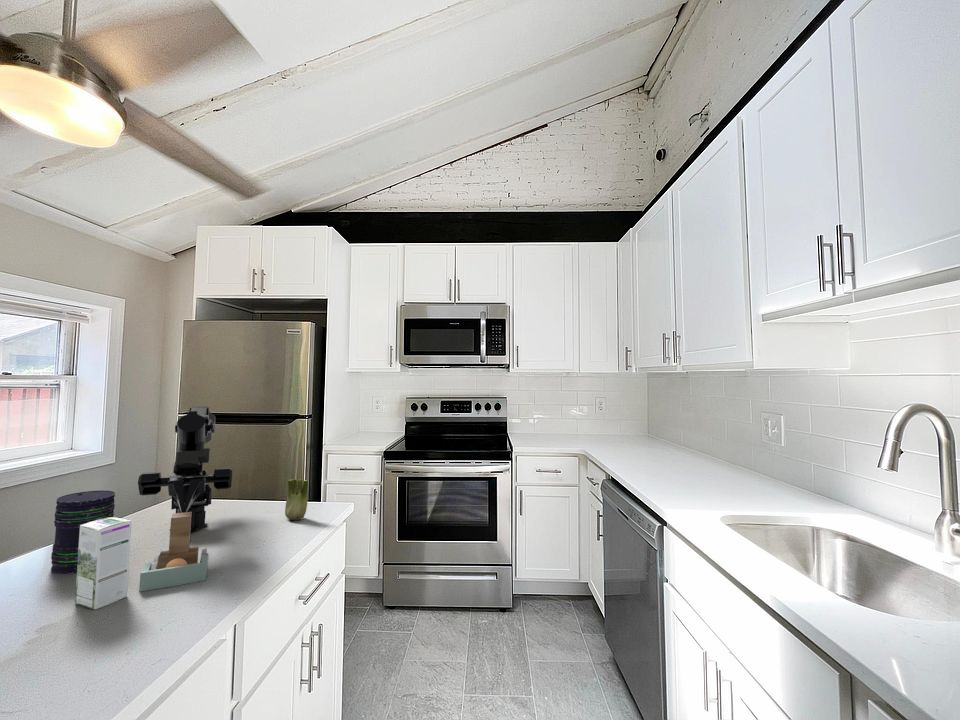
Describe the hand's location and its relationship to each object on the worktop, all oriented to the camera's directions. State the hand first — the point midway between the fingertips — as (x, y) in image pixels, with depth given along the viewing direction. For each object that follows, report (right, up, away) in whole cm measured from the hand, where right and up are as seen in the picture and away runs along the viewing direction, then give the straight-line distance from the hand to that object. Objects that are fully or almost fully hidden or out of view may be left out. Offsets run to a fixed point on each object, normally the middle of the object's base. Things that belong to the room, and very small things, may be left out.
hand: (183, 513), depth 100 cm
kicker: (+2, -10, -5) cm, 12 cm away
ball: (+5, -7, -9) cm, 12 cm away
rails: (+1, -10, -3) cm, 11 cm away
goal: (+5, -10, -10) cm, 15 cm away
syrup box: (-2, -10, -19) cm, 22 cm away
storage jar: (-19, -10, -5) cm, 22 cm away
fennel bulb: (+13, -13, +30) cm, 35 cm away
